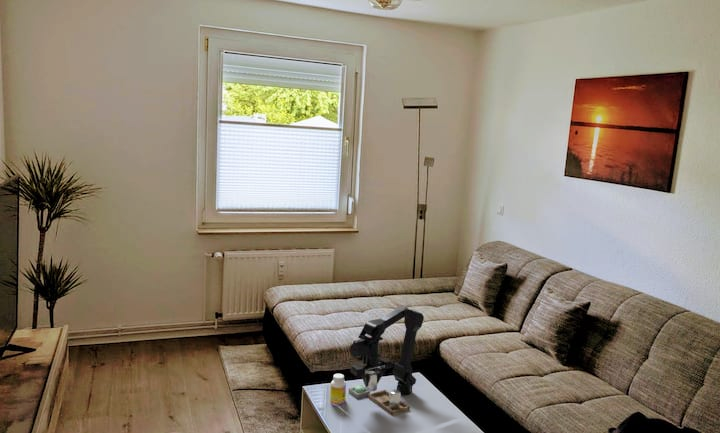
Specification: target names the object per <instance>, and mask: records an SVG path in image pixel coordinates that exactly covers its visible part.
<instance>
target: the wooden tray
mask: <svg viewBox="0 0 720 433" xmlns="http://www.w3.org/2000/svg"><path fill="white" fill-rule="evenodd" d="M367 398H368V399H369V400H370V401H371V402H374V404H376V405H377V406H378V407H380V408H381V409H383V410H384V411H385V412H386V413H388V414H390V415H391V416H395V415H397V414H400V413H401V414H402V413H404V412H407V411H410V408H411V407H410V405H408V404H407V403H405V402H403V401H402V399H400V409H397V410H391V409H389V408H388V406H389V391H387V390H386V389H383V390H379V391H374V392H370V394H368V396H367Z"/></svg>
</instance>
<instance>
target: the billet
mask: <svg viewBox="0 0 720 433" xmlns="http://www.w3.org/2000/svg"><path fill="white" fill-rule="evenodd" d="M367 373H368V374H369V381H368V386H367V387H365V389H366V390H367V391H370V392H377V390H378V384H377V372H375V370H368V372H367Z"/></svg>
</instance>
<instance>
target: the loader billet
mask: <svg viewBox="0 0 720 433" xmlns="http://www.w3.org/2000/svg"><path fill="white" fill-rule="evenodd" d="M388 392H389V406H388V408H389V409H391V410H397V409H400V400H401V396H402V395H401V392H400V391H398V390H397V389H391V390H389V391H388Z"/></svg>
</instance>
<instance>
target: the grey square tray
mask: <svg viewBox="0 0 720 433" xmlns="http://www.w3.org/2000/svg"><path fill="white" fill-rule="evenodd" d="M359 386H363V387H364V392H361V393H357V392H355V386H354V387H349V388H348V395H352V396H353V397H354V398H355V399H358V400H359V399H361V398H364V397H368V394H371V391H367V390H366V389H365V388H366V387H365V385H362V384H361V385H359Z"/></svg>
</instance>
